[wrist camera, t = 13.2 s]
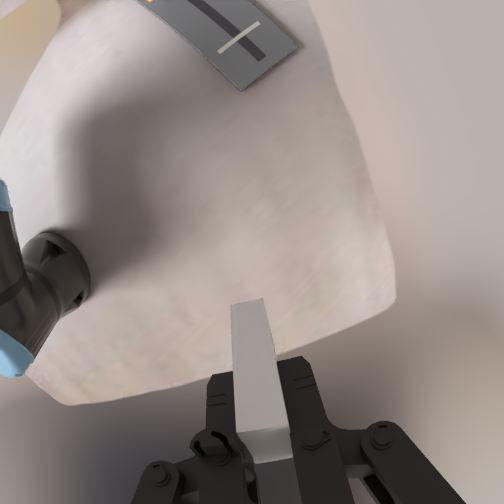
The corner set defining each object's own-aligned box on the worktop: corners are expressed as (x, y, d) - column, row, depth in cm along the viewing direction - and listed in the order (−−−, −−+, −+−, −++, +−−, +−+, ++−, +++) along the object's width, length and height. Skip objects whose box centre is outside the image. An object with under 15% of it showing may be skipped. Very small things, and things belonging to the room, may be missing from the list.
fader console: (295, 50, 32) (298, 46, 30) (240, 91, 34) (241, 89, 32) (167, -50, 22) (165, -56, 20) (117, -13, 24) (112, -17, 22)
